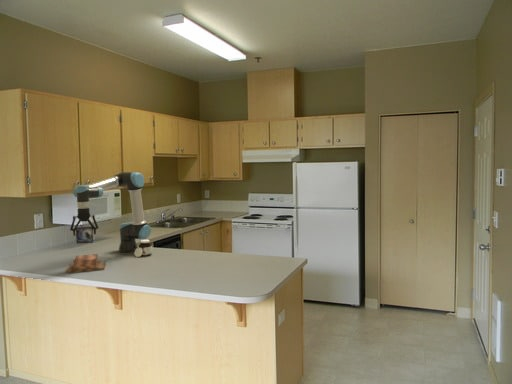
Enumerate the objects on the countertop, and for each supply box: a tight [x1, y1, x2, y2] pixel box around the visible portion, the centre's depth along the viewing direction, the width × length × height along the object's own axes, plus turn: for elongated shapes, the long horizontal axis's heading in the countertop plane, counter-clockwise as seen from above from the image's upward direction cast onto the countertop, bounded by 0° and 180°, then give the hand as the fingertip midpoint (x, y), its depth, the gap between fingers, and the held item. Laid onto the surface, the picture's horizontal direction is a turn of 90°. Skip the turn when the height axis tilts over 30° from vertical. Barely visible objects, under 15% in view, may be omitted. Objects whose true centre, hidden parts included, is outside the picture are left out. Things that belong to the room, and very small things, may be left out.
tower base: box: [65, 253, 107, 274], centre depth 289 cm, size 24×19×8 cm
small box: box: [75, 226, 95, 244], centre depth 287 cm, size 11×6×10 cm, turn 105°
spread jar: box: [134, 239, 153, 258], centre depth 323 cm, size 12×11×12 cm
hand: (85, 239), depth 287 cm, fingers closed on small box, 10 cm apart
